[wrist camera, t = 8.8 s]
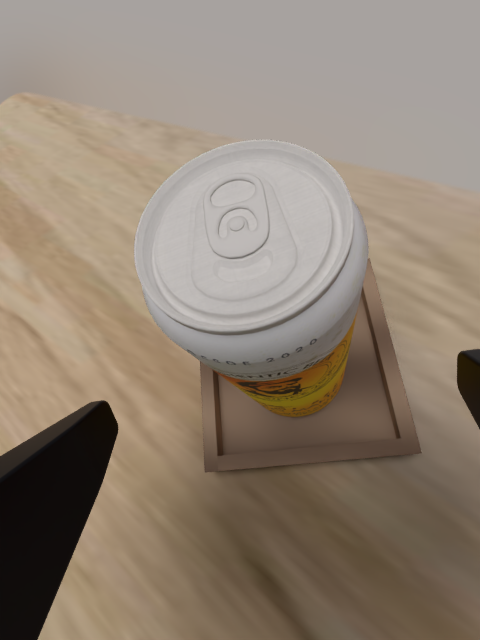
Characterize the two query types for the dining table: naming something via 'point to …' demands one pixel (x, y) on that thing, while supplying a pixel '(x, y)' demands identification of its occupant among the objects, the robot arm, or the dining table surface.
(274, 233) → the beer can
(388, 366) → the tray
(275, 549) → the dining table surface
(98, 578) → the dining table surface
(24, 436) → the dining table surface
